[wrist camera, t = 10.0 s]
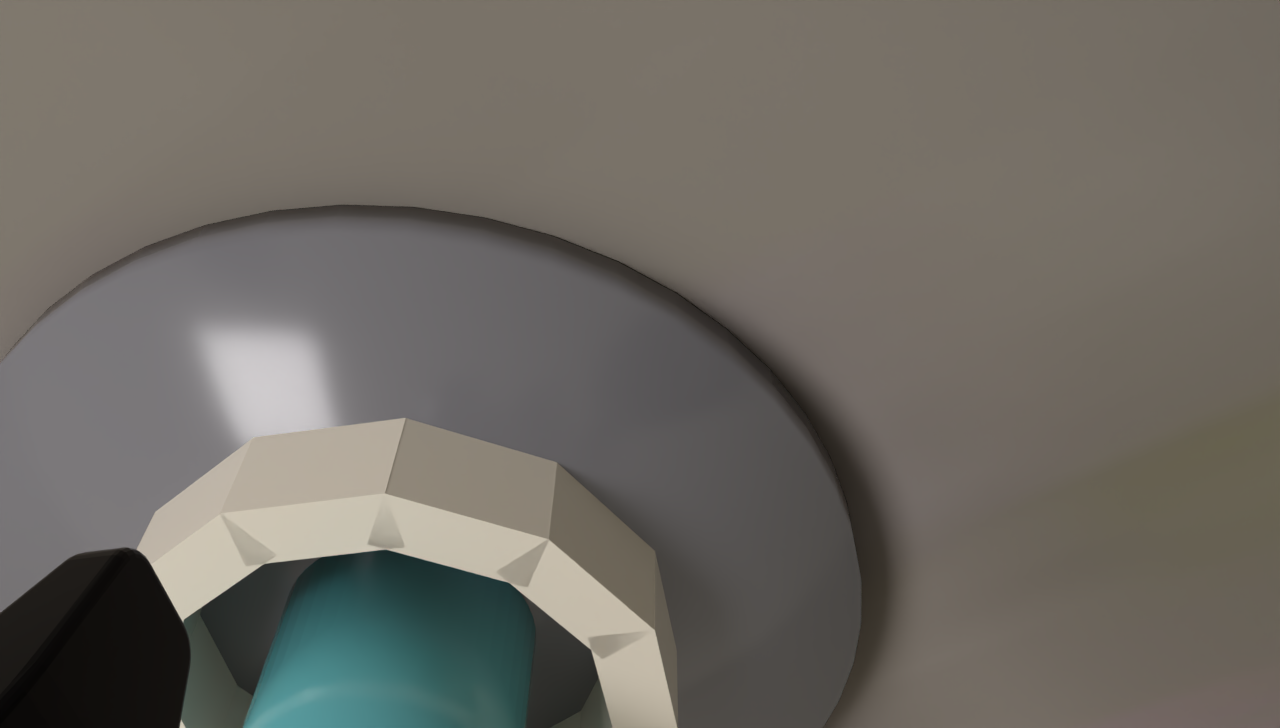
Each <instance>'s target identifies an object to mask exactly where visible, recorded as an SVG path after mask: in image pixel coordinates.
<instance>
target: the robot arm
mask: <svg viewBox="0 0 1280 728" xmlns="http://www.w3.org/2000/svg"><path fill="white" fill-rule="evenodd" d="M190 664H191V647H190V640H189V636H188V633H187V630H186V628H185V625H184V623H183V621H182V620H181V618H180V616H179V614H178V612H177V611H176V609H175V607H174V605H173V603H172V602H171V600H170V598H169V596H168V594H167V593H166V591H165V589H164V587H163V585H162V583H161V582H160V580H159V578H158V576H157V574H156V573H155V571H154V569H153V567H152V565H151V564H150V562H149V561H148V559H147V558H146V556H145V555H143V554H142V553H141V552H140V551H138V550H136V549H133V548H128V547H122V548H114V549H106V550H98V551H90V552H84V553H80V554H76V555H74V556H72V557H70V558H68V559H67V560H66V561H64V562H63V563H62V564H61V565H59V566H58V567H57V568H56V569H54V570H53V571H52V572H51V573H49V574H48V575H47V576H46V577H44V578H43V579H42V580H41V581H39V582H38V583H37V584H36V585H34V586H33V587H32V588H31V589H29V590H28V591H27V592H26V593H24V594H23V595H22V596H21V597H19V598H18V599H17V600H16V601H14V602H13V603H12V604H11V605H9V606H8V607H7V608H6V609H4V610H3V611H2V612H1V613H0V728H180V723H181V717H182V711H183V705H184V700H185V694H186V688H187V683H188V677H189V671H190Z"/></svg>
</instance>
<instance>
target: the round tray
mask: <svg viewBox="0 0 1280 728" xmlns="http://www.w3.org/2000/svg"><path fill="white" fill-rule="evenodd" d="M122 547H128V548H133V549H136V550H138V551H140V552H141V553H142V554H143V555H145V556H146V558H147V559H148V561H149V562H150V564H151V565H152V567H153V569H154V571H155V573H156V574H157V576H158V578H159V580H160V582H161V583H162V585H163V587H164V589H165V591H166V593H167V594H168V596H169V598H170V600H171V602H172V603H173V605H174V607H175V609H176V611H177V612H178V614H179V616H180V618H181V620H182V621H183V623H184V625H185V628H186V630H187V633H188V636H189V640H190V647H191V664H190V671H189V677H188V683H187V688H186V694H185V700H184V705H183V711H182V717H181V723H180V728H243V725H244V722H245V719H246V716H247V713H248V710H249V707H250V704H251V702H252V699H253V696H254V693H255V690H256V687H257V684H258V681H259V679H260V676H261V673H262V670H263V667H264V664H265V661H266V658H267V655H268V653H269V650H270V647H271V644H272V641H273V638H274V635H275V632H276V629H277V627H278V624H279V621H280V618H281V615H282V612H283V609H284V606H285V603H286V601H287V598H288V595H289V593H290V590H291V588H292V586H293V585H294V583H295V581H296V580H297V578H298V577H299V576H300V575H301V574H302V573H303V571H304V570H305V569H306V568H307V567H309V566H310V565H311V564H312V563H314V562H315V561H316V560H318V559H319V558H321V557H326V556H334V555H343V554H351V553H360V552H369V551H377V550H390V551H393V552H397V553H401V554H405V555H408V556H412V557H416V558H419V559H423V560H427V561H430V562H434V563H438V564H442V565H445V566H449V567H453V568H456V569H460V570H464V571H467V572H471V573H475V574H479V575H482V576H486V577H490V578H493V579H497V580H501V581H504V582H508V583H510V584H511V585H512V586H514V587H515V588H516V589H517V590H518V591H519V592H520V593H521V595H522V596H523V598H524V599H525V601H526V603H527V604H528V606H529V608H530V611H531V613H532V616H533V619H534V623H535V627H536V646H535V654H534V663H533V672H532V681H531V689H530V698H529V707H528V716H527V725H526V728H823V727H824V725H825V723H826V722H827V720H828V718H829V717H830V715H831V713H832V712H833V710H834V708H835V707H836V705H837V703H838V702H839V699H840V697H841V694H842V692H843V689H844V687H845V684H846V682H847V679H848V676H849V674H850V671H851V669H852V666H853V663H854V658H855V653H856V648H857V643H858V638H859V632H860V627H861V576H860V570H859V565H858V559H857V554H856V548H855V543H854V537H853V532H852V527H851V522H850V516H849V511H848V506H847V501H846V498H845V496H844V493H843V490H842V488H841V485H840V482H839V479H838V477H837V474H836V471H835V469H834V466H833V463H832V461H831V458H830V456H829V454H828V452H827V451H826V449H825V447H824V445H823V444H822V442H821V440H820V438H819V437H818V435H817V433H816V432H815V430H814V428H813V426H812V425H811V423H810V421H809V419H808V418H807V416H806V414H805V413H804V411H803V410H802V409H801V408H800V406H799V405H798V404H797V403H796V401H795V400H794V399H793V398H792V396H791V395H790V394H789V393H788V391H787V390H786V389H785V388H784V386H783V385H782V384H781V383H780V381H779V380H778V379H777V378H776V376H775V375H774V374H773V373H772V371H771V370H770V369H769V368H768V367H767V366H766V365H764V364H763V363H762V362H761V361H760V360H759V359H758V358H757V357H756V356H755V355H754V354H753V353H752V352H751V351H749V350H748V349H747V348H746V347H745V346H744V345H743V344H742V343H741V342H740V341H739V340H738V339H737V338H736V337H735V336H733V335H732V334H731V333H730V332H729V331H728V330H727V329H725V328H724V327H723V326H721V325H720V324H718V323H717V322H716V321H714V320H713V319H711V318H710V317H709V316H707V315H706V314H704V313H703V312H702V311H700V310H699V309H697V308H696V307H695V306H693V305H692V304H690V303H689V302H688V301H686V300H685V299H683V298H682V297H681V296H679V295H678V294H676V293H675V292H673V291H671V290H669V289H667V288H665V287H663V286H662V285H660V284H658V283H656V282H654V281H652V280H650V279H649V278H647V277H645V276H643V275H641V274H639V273H638V272H636V271H634V270H632V269H630V268H628V267H626V266H625V265H623V264H621V263H619V262H617V261H614V260H612V259H609V258H607V257H604V256H602V255H599V254H597V253H594V252H592V251H589V250H587V249H584V248H582V247H579V246H576V245H574V244H571V243H569V242H566V241H564V240H561V239H559V238H556V237H554V236H550V235H546V234H543V233H539V232H535V231H532V230H528V229H524V228H520V227H517V226H513V225H509V224H505V223H502V222H498V221H494V220H490V219H487V218H482V217H475V216H468V215H462V214H455V213H448V212H442V211H435V210H428V209H421V208H415V207H391V206H360V205H334V206H322V207H311V208H299V209H287V210H276V211H268V212H264V213H259V214H254V215H250V216H245V217H240V218H236V219H231V220H226V221H222V222H217V223H212V224H208V225H204V226H201V227H198V228H196V229H193V230H190V231H187V232H184V233H182V234H179V235H176V236H173V237H171V238H168V239H165V240H162V241H159V242H157V243H154V244H151V245H148V246H145V247H144V248H142V249H140V250H138V251H136V252H134V253H132V254H130V255H129V256H127V257H125V258H123V259H121V260H119V261H117V262H115V263H114V264H112V265H110V266H108V267H106V268H104V269H102V270H100V271H99V272H97V273H95V274H93V275H92V276H90V277H89V278H88V279H86V280H85V281H84V282H82V283H81V284H80V285H78V286H77V287H76V288H74V289H73V290H72V291H70V292H69V293H68V294H66V295H65V296H64V297H63V298H61V299H60V300H59V301H57V302H56V303H55V304H53V305H52V306H51V307H49V308H48V309H47V310H46V311H45V312H44V313H43V315H42V316H41V317H40V318H39V319H38V320H37V321H36V322H35V323H34V324H33V325H32V326H31V327H30V329H29V330H28V331H27V332H26V333H25V334H24V335H23V336H22V337H21V338H20V339H19V340H18V341H17V343H16V344H15V345H14V346H13V347H12V348H11V350H10V351H9V352H8V353H7V355H6V356H5V357H4V359H3V360H2V361H1V362H0V613H1V612H2V611H3V610H4V609H6V608H7V607H8V606H9V605H11V604H12V603H13V602H14V601H16V600H17V599H18V598H19V597H21V596H22V595H23V594H24V593H26V592H27V591H28V590H29V589H31V588H32V587H33V586H34V585H36V584H37V583H38V582H39V581H41V580H42V579H43V578H44V577H46V576H47V575H48V574H49V573H51V572H52V571H53V570H54V569H56V568H57V567H58V566H59V565H61V564H62V563H63V562H64V561H66V560H67V559H68V558H70V557H72V556H74V555H76V554H80V553H84V552H90V551H98V550H106V549H114V548H122Z"/></svg>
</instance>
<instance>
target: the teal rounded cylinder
mask: <svg viewBox="0 0 1280 728" xmlns="http://www.w3.org/2000/svg"><path fill="white" fill-rule="evenodd" d="M535 646H536V627H535V623H534V619H533V616H532V613H531V611H530V608H529V606H528V604H527V603H526V601H525V599H524V598H523V596H522V595H521V593H520V592H519V591H518V590H517V589H516V588H515V587H514V586H512V585H511V584H510V583H508V582H504V581H501V580H497V579H493V578H490V577H486V576H482V575H479V574H475V573H471V572H467V571H464V570H460V569H456V568H453V567H449V566H445V565H442V564H438V563H434V562H430V561H427V560H423V559H419V558H416V557H412V556H408V555H405V554H401V553H397V552H393V551H390V550H377V551H369V552H360V553H351V554H343V555H334V556H326V557H321V558H319V559H318V560H316V561H315V562H314V563H312V564H311V565H310V566H309V567H307V568H306V569H305V570H304V571H303V573H302V574H301V575H300V576H299V577H298V578H297V580H296V581H295V583H294V585H293V586H292V588H291V590H290V593H289V595H288V598H287V601H286V603H285V606H284V609H283V612H282V615H281V618H280V621H279V624H278V627H277V629H276V632H275V635H274V638H273V641H272V644H271V647H270V650H269V653H268V655H267V658H266V661H265V664H264V667H263V670H262V673H261V676H260V679H259V681H258V684H257V687H256V690H255V693H254V696H253V699H252V702H251V704H250V707H249V710H248V713H247V716H246V719H245V722H244V725H243V728H526V725H527V716H528V707H529V698H530V689H531V681H532V672H533V663H534V654H535Z"/></svg>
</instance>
